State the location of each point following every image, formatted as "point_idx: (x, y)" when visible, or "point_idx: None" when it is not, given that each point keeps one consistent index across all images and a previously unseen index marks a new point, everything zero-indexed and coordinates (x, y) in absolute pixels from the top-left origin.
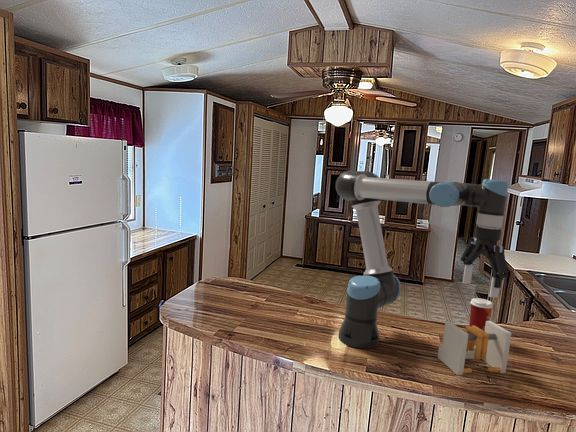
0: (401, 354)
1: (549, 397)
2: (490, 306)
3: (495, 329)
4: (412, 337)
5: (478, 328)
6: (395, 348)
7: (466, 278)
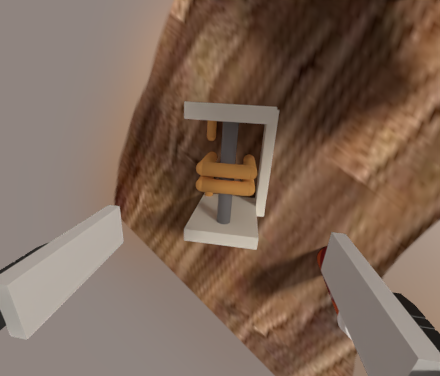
0: (310, 22)
1: (139, 209)
2: (341, 324)
3: (222, 229)
4: (380, 111)
5: (229, 188)
6: (343, 22)
7: (340, 265)
